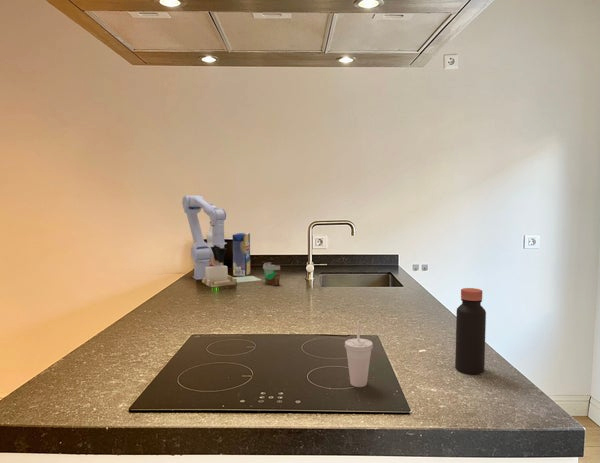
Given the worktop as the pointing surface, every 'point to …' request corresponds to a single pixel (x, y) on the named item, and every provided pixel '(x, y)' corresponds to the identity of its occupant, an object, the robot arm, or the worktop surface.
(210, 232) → the fruit juice
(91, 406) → the worktop surface
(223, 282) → the offcut upper
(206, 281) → the rack
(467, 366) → the bottle
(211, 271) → the beige rectangular block
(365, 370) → the smoothie
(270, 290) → the worktop surface
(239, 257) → the beverage box
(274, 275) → the food container
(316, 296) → the worktop surface
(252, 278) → the board
